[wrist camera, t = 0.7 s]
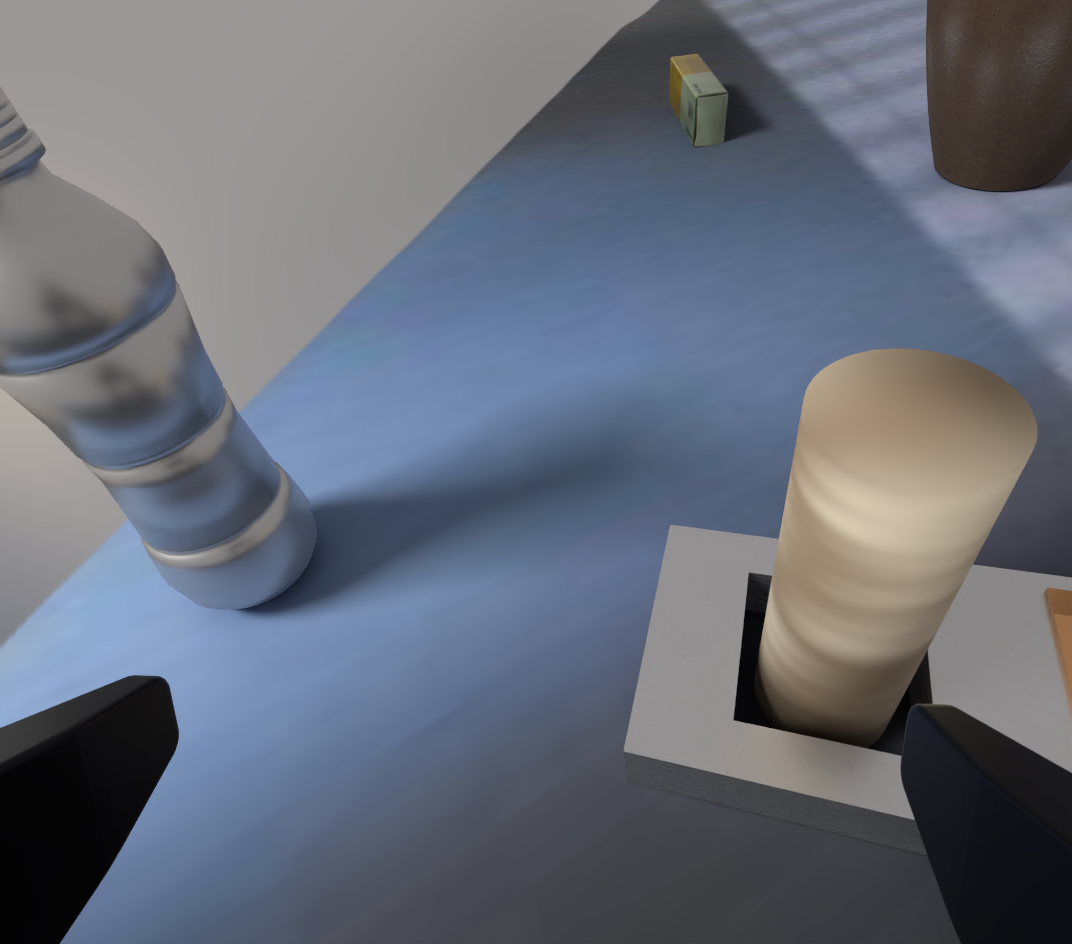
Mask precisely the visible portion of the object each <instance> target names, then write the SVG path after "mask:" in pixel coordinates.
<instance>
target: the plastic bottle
mask: <svg viewBox="0 0 1072 944" xmlns="http://www.w3.org/2000/svg"><path fill="white" fill-rule="evenodd" d="M45 151H46V148H45V146H44V145H43V143H42V142H41V140H40V139H39V138H38V136H37V134H36V133H35V131H33V130H31V129H28V128H27V126H26V125H25V123H24V122H23V120H22V119H21V117H20V116H19V114H18V113H17V111H16V110H15V108H14V107H13V105H12V103H11V102H10V101H9V99H8V98H7V96H6V94H5V93H4V91H3V90H2V88H1V87H0V388H2V389H3V390H4V391H5V392H6V393H8V394H9V395H10V396H11V397H13V398H14V399H15V400H16V401H17V402H19V403H20V404H21V405H22V406H23V407H24V408H26V409H27V410H28V411H29V412H30V413H31V414H33V415H34V416H35V417H36V418H37V419H39V420H40V421H41V422H42V423H43V424H45V425H46V426H47V427H48V428H49V429H50V430H51V431H52V432H53V433H54V434H55V435H56V436H57V437H58V438H59V439H60V440H61V441H62V442H63V443H64V444H65V445H66V446H67V447H68V448H69V449H70V450H71V451H72V452H73V453H74V454H75V455H76V456H77V457H78V458H80V459H82V461H83V463H84V464H85V465H86V466H87V468H89V470H90V471H91V472H92V473H93V474H94V475H95V476H96V477H97V478H98V479H99V480H100V481H101V482H102V483H103V484H104V486H105V487H106V488H107V490H108V491H109V493H110V494H111V496H112V497H113V498H114V500H115V501H116V502H117V504H118V505H119V507H120V508H121V509H122V511H123V512H124V514H125V515H126V516H127V518H128V519H129V521H130V522H131V524H132V525H133V526H134V528H135V529H136V531H137V532H138V533H139V535H140V537H141V540H142V543H143V545H144V547H145V549H146V551H147V553H148V555H149V557H150V559H151V560H152V562H153V563H154V565H155V567H156V568H157V570H158V571H159V573H160V575H161V576H162V577H163V579H164V580H165V581H166V582H167V584H168V585H170V586H171V587H173V588H174V589H175V590H177V591H178V592H180V593H181V594H183V595H184V596H186V597H187V598H189V599H190V600H192V601H193V602H195V603H196V604H198V605H201V606H204V607H207V608H215V609H244V608H248V607H252V606H256V605H259V604H261V603H264V602H266V601H269V600H271V599H272V598H274V597H276V596H278V595H280V594H281V593H282V592H284V591H285V590H286V589H288V588H289V587H290V586H291V585H292V584H293V583H294V582H295V581H296V580H297V579H298V578H299V577H300V576H301V574H302V573H303V572H304V570H305V569H306V567H307V565H308V563H309V561H310V559H311V556H312V553H313V551H314V547H315V544H316V540H317V528H316V524H315V521H314V517H313V514H312V511H311V507H310V504H309V501H308V499H307V497H306V496H305V494H304V492H303V491H302V490H301V489H300V487H299V486H298V485H297V484H296V483H295V481H294V480H293V479H292V478H291V477H290V475H289V474H288V473H287V472H286V471H285V470H284V469H283V468H282V467H281V466H280V465H279V464H278V463H276V462H275V461H274V460H273V459H272V458H271V456H270V455H269V454H268V452H267V451H266V450H265V448H264V447H263V446H262V444H261V443H260V441H259V440H258V439H257V437H256V436H255V435H254V433H253V432H252V431H251V429H250V428H249V427H248V425H247V424H246V423H245V421H244V420H243V418H242V417H241V416H240V414H239V413H238V412H237V410H236V409H235V407H234V405H233V403H232V401H231V399H230V397H229V395H228V393H227V392H226V390H225V388H223V385H222V382H221V380H220V378H219V376H218V374H217V372H216V370H215V368H214V366H213V365H212V363H211V361H210V359H209V357H208V355H207V353H206V351H205V349H204V346H203V344H202V341H201V339H200V336H199V334H198V332H197V329H196V326H195V324H194V321H193V319H192V316H191V314H190V312H189V309H188V306H187V304H186V302H185V299H184V296H183V294H182V291H181V289H180V286H179V284H178V283H177V281H176V279H175V274H174V272H173V270H172V268H171V266H170V264H169V262H168V260H167V257H166V255H165V253H164V251H163V249H162V248H161V246H160V245H159V244H158V243H157V241H156V240H154V239H153V238H152V236H151V235H150V234H149V233H148V232H147V231H146V230H145V229H143V227H142V226H141V225H140V224H139V223H138V222H137V221H135V220H134V219H132V218H130V217H129V216H127V215H126V214H124V213H122V212H121V211H119V210H118V209H116V208H114V207H113V206H111V205H110V204H108V203H106V202H105V201H103V200H102V199H100V198H98V197H96V196H95V195H93V194H91V193H88V192H87V191H85V190H83V189H81V188H79V187H77V186H75V185H73V184H71V183H69V182H67V181H65V180H63V179H61V178H59V177H57V176H55V175H54V174H52V173H51V172H50V171H49V170H48V169H47V168H46V167H45V165H44V164H43V163H42V162H41V161H40V160H39V159H40V158H41V157H42V156H43V155H44V154H45Z"/></svg>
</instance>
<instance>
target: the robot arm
mask: <svg viewBox="0 0 1072 944" xmlns="http://www.w3.org/2000/svg"><path fill="white" fill-rule="evenodd" d="M178 739H179V730H178V724H177V720H176V715H175V710H174V705H173V701H172V696H171V691H170V687H169V684H168V683H167V681H166V680H165V679H164V678H162V677H160V676H140V675H133V676H128V677H125V678H123V679H120V680H118V681H115V682H113V683H110V684H108V685H105V686H103V687H101V688H98V689H96V690H93V691H91V692H88V693H86V694H83V695H81V696H78V697H76V698H73V699H71V700H69V701H66V702H64V703H61V704H59V705H56V706H54V707H51V708H49V709H46V710H44V711H41V712H39V713H36V714H34V715H32V716H29V717H27V718H24V719H22V720H19V721H17V722H14V723H12V724H9V725H7V726H4V727H2V728H0V944H60V943H61V941H62V940H63V938H64V937H65V935H66V934H67V932H68V931H69V929H70V928H71V926H72V925H73V923H74V922H75V920H76V919H77V917H78V916H79V914H80V913H81V911H82V910H83V908H84V907H85V905H86V904H87V902H88V901H89V899H90V898H91V896H92V895H93V893H94V892H95V890H96V889H97V887H98V886H99V884H100V883H101V881H102V880H103V878H104V876H105V875H106V873H107V872H108V870H109V869H110V867H111V865H112V864H113V862H114V860H115V858H116V857H117V855H118V853H119V852H120V850H121V848H122V847H123V845H124V843H125V841H126V839H127V838H128V836H129V834H130V832H131V830H132V828H133V827H134V825H135V823H136V821H137V819H138V818H139V816H140V814H141V812H142V810H143V809H144V807H145V805H146V803H147V801H148V800H149V798H150V796H151V794H152V792H153V791H154V789H155V787H156V785H157V783H158V782H159V780H160V778H161V776H162V774H163V773H164V771H165V769H166V767H167V765H168V764H169V762H170V760H171V758H172V756H173V754H174V752H175V750H176V747H177V744H178ZM900 773H901V780H902V784H903V788H904V791H905V794H906V796H907V799H908V802H909V805H910V808H911V810H912V813H913V816H914V819H915V822H916V824H917V827H918V830H919V833H920V836H921V838H922V841H923V844H924V847H925V850H926V853H927V855H928V858H929V861H930V864H931V867H932V869H933V872H934V875H935V878H936V881H937V883H938V886H939V889H940V892H941V895H942V897H943V900H944V903H945V905H946V908H947V911H948V913H949V916H950V918H951V921H952V924H953V926H954V928H955V931H956V933H957V935H958V937H959V940H960V942H961V944H1072V773H1071V772H1069V771H1068V770H1066V769H1064V768H1062V767H1061V766H1059V765H1057V764H1055V763H1054V762H1052V761H1050V760H1048V759H1047V758H1045V757H1043V756H1041V755H1039V754H1038V753H1036V752H1034V751H1032V750H1031V749H1029V748H1027V747H1025V746H1024V745H1022V744H1020V743H1018V742H1017V741H1015V740H1013V739H1011V738H1009V737H1008V736H1006V735H1004V734H1002V733H1001V732H999V731H997V730H995V729H994V728H992V727H990V726H988V725H986V724H985V723H983V722H981V721H979V720H978V719H976V718H974V717H972V716H971V715H969V714H967V713H965V712H964V711H962V710H960V709H958V708H956V707H954V706H951V705H945V704H915V705H914V706H913V707H911V709H910V711H909V713H908V716H907V722H906V729H905V736H904V743H903V750H902V756H901V764H900Z"/></svg>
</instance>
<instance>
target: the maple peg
mask: <svg viewBox="0 0 1072 944" xmlns="http://www.w3.org/2000/svg"><path fill="white" fill-rule="evenodd" d="M1037 433H1038V432H1037V423H1036V420H1035V417H1034V414H1033V412H1032V410H1031V408H1030V406H1029V405H1028V403H1027V402H1026V401H1025V399H1024V398H1023V397H1022V395H1021V394H1020V393H1019V392H1018V391H1016V390H1015V389H1014V388H1013V387H1012V386H1011V385H1010V384H1008V383H1007V382H1006V381H1005V380H1003V379H1002V378H1000V377H999V376H997V375H995V374H994V373H992V372H990V371H988V370H987V369H985V368H983V367H981V366H978V365H976V364H974V363H971V362H969V361H966V360H963V359H960V358H957V357H954V356H950V355H946V354H942V353H937V352H932V351H926V350H917V349H898V348H897V349H880V350H871V351H866V352H861V353H857V354H854V355H850V356H847V357H845V358H842V359H840V360H837V361H836V362H834V363H832V364H830V365H828V366H827V367H826V368H824V369H823V370H822V371H820V372H819V373H818V374H817V375H816V376H815V377H814V378H813V380H812V381H811V383H810V384H809V385H808V388H807V390H806V392H805V396H804V401H803V406H802V412H801V417H800V423H799V429H798V434H797V440H796V446H795V451H794V457H793V463H792V468H791V474H790V480H789V485H788V491H787V496H786V502H785V508H784V513H783V519H782V525H781V530H780V536H779V542H778V547H777V553H776V559H775V564H774V570H773V575H772V581H771V587H770V592H769V598H768V604H767V609H766V615H765V621H764V626H763V632H762V638H761V643H760V649H759V654H758V660H757V666H756V671H755V677H754V690H755V696H756V700H757V703H758V705H759V708H760V710H761V712H762V714H763V716H764V717H765V719H766V720H767V721H768V723H769V724H770V725H771V726H772V727H773V729H777V730H781V731H786V732H791V733H795V734H800V735H805V736H810V737H814V738H819V739H824V740H829V741H833V742H838V743H843V744H847V745H852V746H857V747H862V748H866V749H867V748H869V747H870V746H871V745H873V744H874V743H875V742H876V741H877V740H878V739H879V738H880V737H881V736H882V734H883V732H884V731H885V729H886V727H887V725H888V724H889V722H890V720H891V718H892V716H893V714H894V712H895V710H896V708H897V707H898V705H899V703H900V701H901V699H902V697H903V695H904V693H905V691H906V690H907V688H908V686H909V684H910V682H911V680H912V678H913V676H914V674H915V673H916V671H917V669H918V667H919V665H920V663H921V661H922V659H923V657H924V656H925V654H926V652H927V650H928V648H929V646H930V644H931V642H932V640H933V639H934V637H935V635H936V633H937V631H938V629H939V627H940V625H941V623H942V622H943V620H944V618H945V616H946V614H947V612H948V610H949V608H950V606H951V605H952V603H953V601H954V599H955V597H956V595H957V593H958V591H959V589H960V588H961V586H962V584H963V582H964V580H965V578H966V576H967V574H968V572H969V571H970V569H971V567H972V565H973V563H974V561H975V559H976V557H977V555H978V554H979V552H980V550H981V548H982V546H983V544H984V542H985V540H986V538H987V537H988V535H989V533H990V531H991V529H992V527H993V525H994V523H995V521H996V520H997V518H998V516H999V514H1000V512H1001V510H1002V508H1003V506H1004V504H1005V503H1006V501H1007V499H1008V497H1009V495H1010V493H1011V491H1012V489H1013V487H1014V486H1015V484H1016V482H1017V480H1018V478H1019V476H1020V474H1021V472H1022V470H1023V469H1024V467H1025V465H1026V463H1027V461H1028V459H1029V457H1030V455H1031V453H1032V452H1033V449H1034V447H1035V444H1036V440H1037Z"/></svg>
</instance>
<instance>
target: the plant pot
mask: <svg viewBox="0 0 1072 944" xmlns="http://www.w3.org/2000/svg"><path fill="white" fill-rule="evenodd" d="M926 69H927V98H928V114H929V126H930V136H931V144H932V152H933V160H934V167H935V170H936V171H937V173H938V174H939V175H941V176H942V177H943V178H945V179H946V180H948V181H950V182H952V183H955V184H958V185H961V186H964V187H968V188H973V189H980V190H988V191H1015V190H1023V189H1029V188H1033V187H1037V186H1040V185H1042V184H1045V183H1047V182H1049V181H1050V180H1052V179H1053V178H1054V177H1055V176H1056V175H1057V174H1058V173H1059V172H1060V171H1061V170H1062V169H1063V168H1064V167H1065V166H1066V165H1067V163H1068V162H1069V161H1070V160H1071V159H1072V0H927V26H926Z"/></svg>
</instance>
